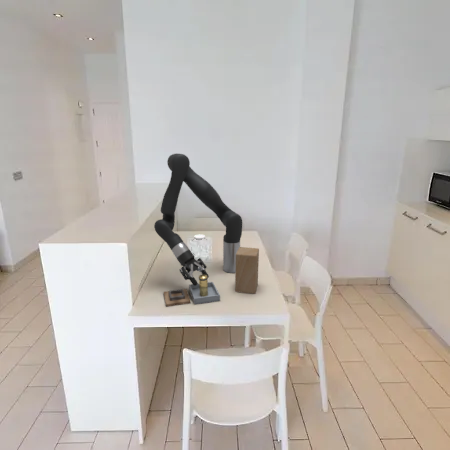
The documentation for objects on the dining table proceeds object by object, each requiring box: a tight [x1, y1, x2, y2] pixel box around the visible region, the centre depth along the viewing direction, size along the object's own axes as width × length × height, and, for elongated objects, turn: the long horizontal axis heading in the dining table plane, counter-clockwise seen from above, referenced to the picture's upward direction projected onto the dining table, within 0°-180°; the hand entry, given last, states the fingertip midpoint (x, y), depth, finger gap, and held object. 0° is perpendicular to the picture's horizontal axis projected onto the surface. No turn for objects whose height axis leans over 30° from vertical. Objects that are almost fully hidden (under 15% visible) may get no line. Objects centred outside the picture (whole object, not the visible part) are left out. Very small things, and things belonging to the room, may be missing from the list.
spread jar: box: [193, 233, 206, 240], centre depth 211 cm, size 12×11×12 cm
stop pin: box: [198, 274, 209, 296], centre depth 159 cm, size 4×4×10 cm
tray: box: [188, 281, 221, 305], centre depth 160 cm, size 12×14×3 cm
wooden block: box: [234, 246, 260, 295], centre depth 164 cm, size 10×10×20 cm
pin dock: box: [163, 288, 192, 307], centre depth 157 cm, size 11×12×3 cm
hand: (202, 281), depth 159 cm, fingers open, 8 cm apart
